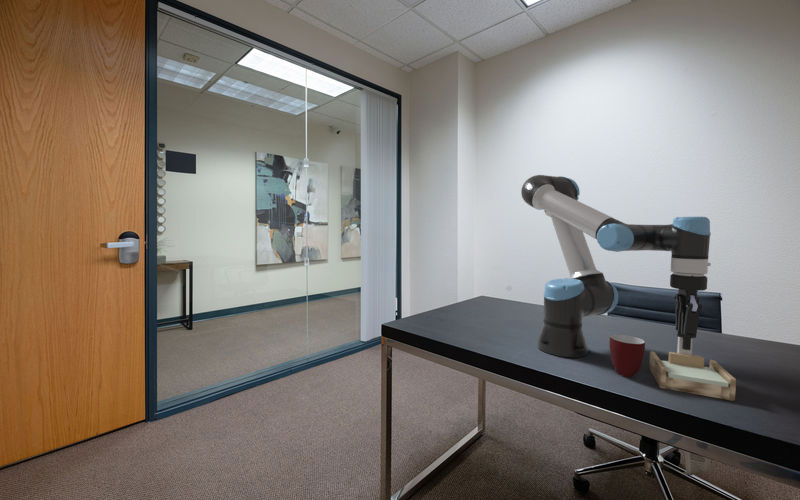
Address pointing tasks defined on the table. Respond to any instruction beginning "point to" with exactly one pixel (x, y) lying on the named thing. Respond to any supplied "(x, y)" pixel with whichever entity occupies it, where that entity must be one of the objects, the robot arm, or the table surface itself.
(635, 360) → the mug
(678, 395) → the table surface
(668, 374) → the lid
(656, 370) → the birch box
